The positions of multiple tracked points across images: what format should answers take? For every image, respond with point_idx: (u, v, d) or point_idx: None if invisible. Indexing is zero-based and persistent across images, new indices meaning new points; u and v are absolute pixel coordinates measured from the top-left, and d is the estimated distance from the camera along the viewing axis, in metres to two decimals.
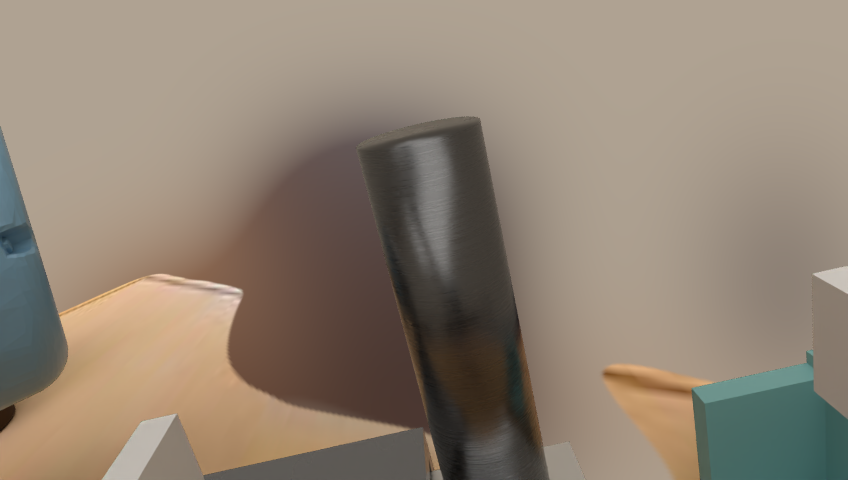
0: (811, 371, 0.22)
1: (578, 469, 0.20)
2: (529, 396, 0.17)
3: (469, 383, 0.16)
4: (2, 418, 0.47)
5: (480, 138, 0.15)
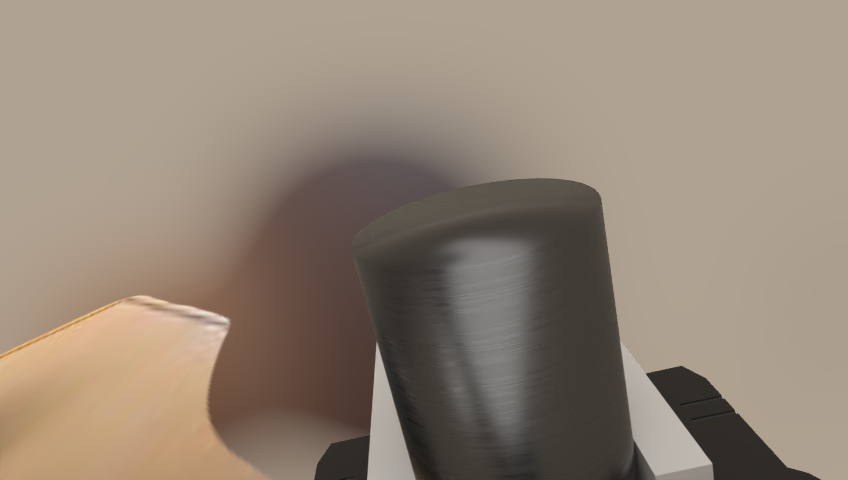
0: None
1: None
2: None
3: None
4: None
5: (604, 235, 0.07)
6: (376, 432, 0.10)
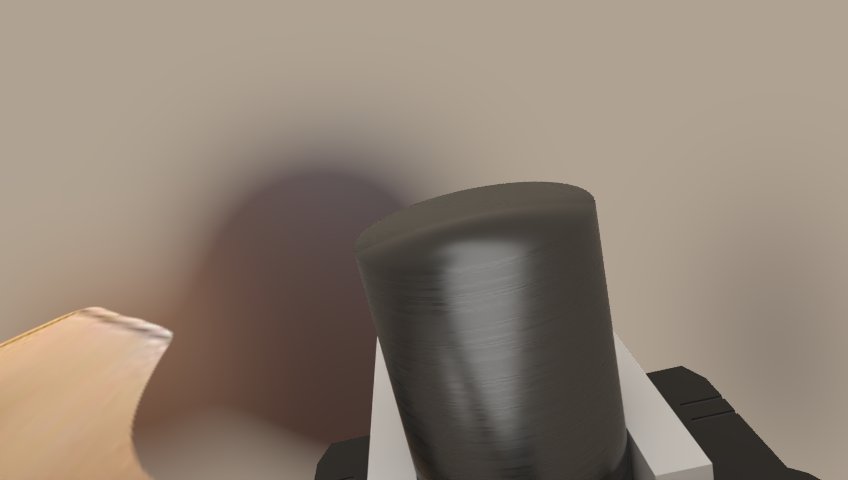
0: None
1: None
2: None
3: None
4: None
5: (598, 237, 0.07)
6: (376, 432, 0.10)
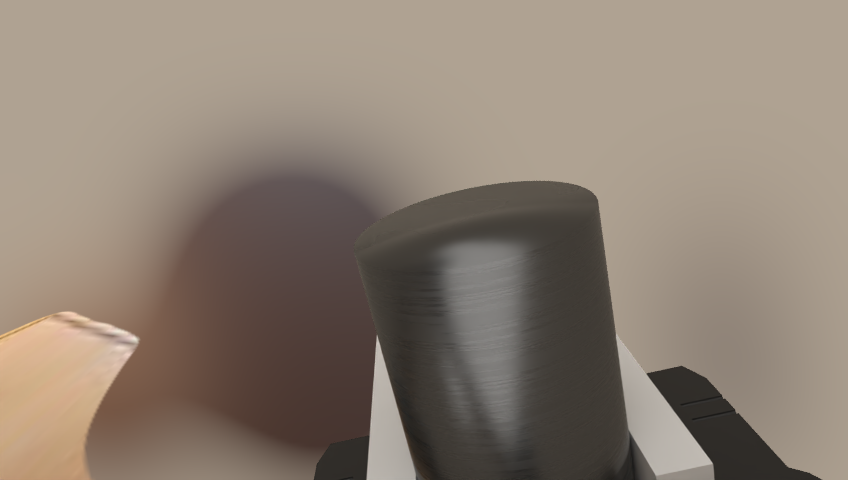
0: None
1: None
2: None
3: None
4: None
5: (601, 237, 0.07)
6: (376, 432, 0.10)
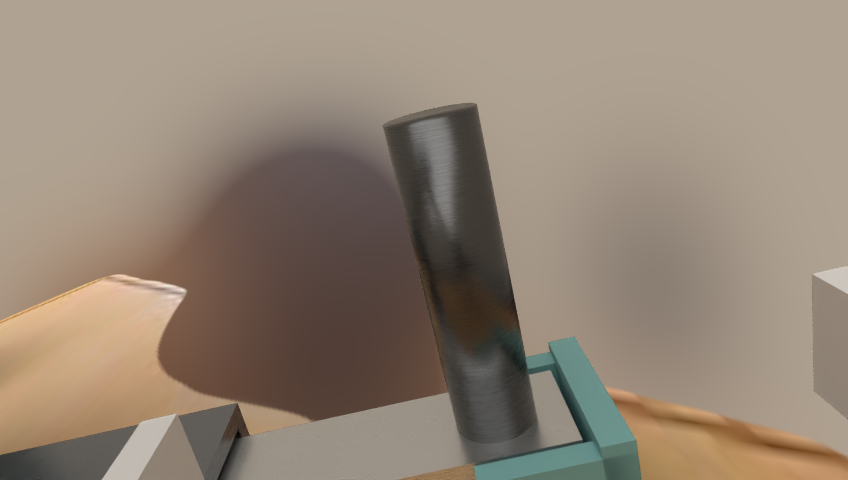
0: (548, 358, 0.27)
1: (556, 388, 0.25)
2: (515, 321, 0.22)
3: (468, 306, 0.20)
4: None
5: (476, 118, 0.19)
6: None
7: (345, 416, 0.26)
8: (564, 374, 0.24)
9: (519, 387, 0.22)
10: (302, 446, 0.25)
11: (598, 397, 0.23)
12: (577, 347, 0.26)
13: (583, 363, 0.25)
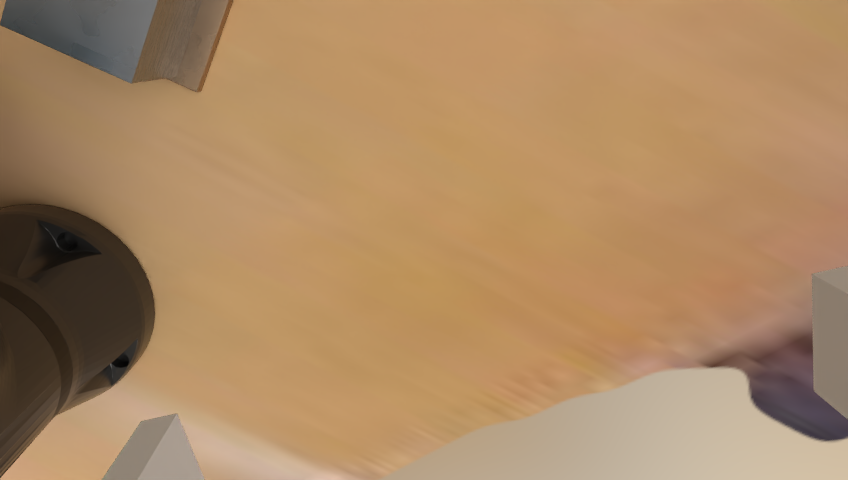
0: None
1: None
2: None
3: None
4: None
5: None
6: None
7: None
8: None
9: None
10: None
11: None
12: None
13: None
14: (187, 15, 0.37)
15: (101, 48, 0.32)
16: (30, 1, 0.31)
